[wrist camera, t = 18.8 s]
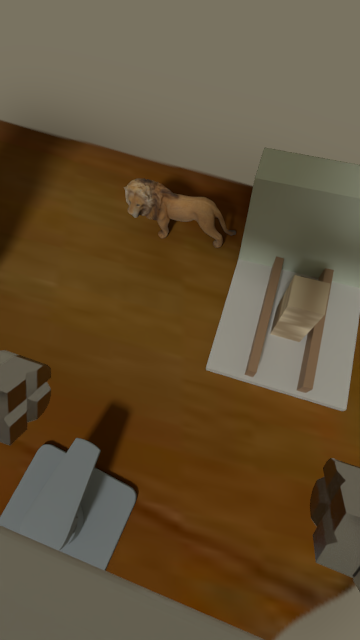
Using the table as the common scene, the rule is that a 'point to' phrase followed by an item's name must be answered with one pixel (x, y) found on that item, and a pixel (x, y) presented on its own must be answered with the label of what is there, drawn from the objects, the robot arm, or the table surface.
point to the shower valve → (70, 503)
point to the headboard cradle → (278, 271)
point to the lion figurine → (173, 208)
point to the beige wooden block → (300, 308)
